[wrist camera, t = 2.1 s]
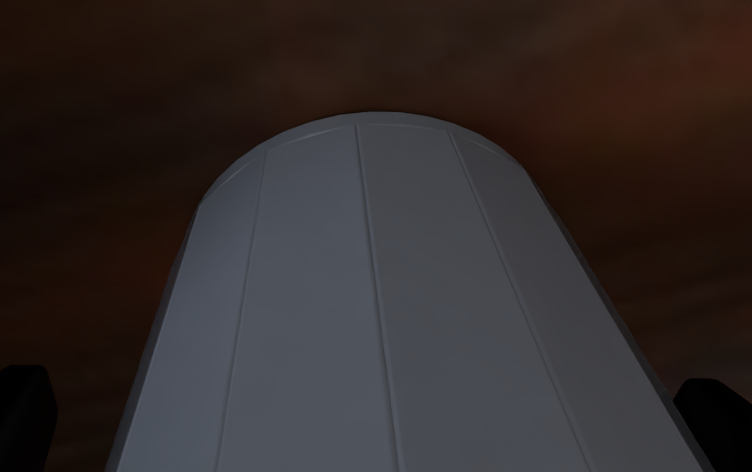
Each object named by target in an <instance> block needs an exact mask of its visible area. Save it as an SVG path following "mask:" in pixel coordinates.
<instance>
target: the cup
mask: <svg viewBox="0 0 752 472" xmlns="http://www.w3.org/2000/svg"><path fill="white" fill-rule="evenodd" d="M104 472H716V471H715V470H714V468H713V467H712V465H711V463H710V462H709V460H708V458H707V457H706V455H705V453H704V452H703V450H702V449H701V447H700V445H699V444H698V442H697V440H696V439H695V437H694V435H693V434H692V432H691V431H690V429H689V427H688V426H687V424H686V422H685V421H684V419H683V417H682V416H681V414H680V413H679V411H678V409H677V408H676V406H675V404H674V403H673V401H672V399H671V398H670V396H669V395H668V393H667V391H666V390H665V388H664V386H663V385H662V383H661V381H660V380H659V378H658V377H657V375H656V373H655V372H654V370H653V368H652V367H651V365H650V363H649V362H648V360H647V359H646V357H645V355H644V354H643V352H642V350H641V349H640V347H639V345H638V344H637V342H636V341H635V339H634V337H633V336H632V334H631V332H630V331H629V329H628V327H627V326H626V324H625V323H624V321H623V319H622V318H621V316H620V314H619V313H618V311H617V309H616V308H615V306H614V305H613V303H612V301H611V300H610V298H609V296H608V295H607V293H606V291H605V290H604V288H603V287H602V285H601V283H600V282H599V280H598V278H597V277H596V275H595V273H594V272H593V270H592V268H591V267H590V265H589V264H588V262H587V260H586V259H585V257H584V255H583V254H582V252H581V250H580V249H579V247H578V246H577V244H576V242H575V241H574V239H573V237H572V236H571V234H570V232H569V231H568V229H567V228H566V226H565V224H564V223H563V221H562V220H561V218H560V217H559V216H558V214H557V213H556V212H555V210H554V209H553V208H552V206H551V205H550V203H549V202H548V201H547V199H546V198H545V196H544V195H543V193H542V191H541V190H540V188H539V187H538V185H537V183H536V182H535V180H534V179H533V178H532V177H531V176H530V174H529V173H528V172H527V171H526V170H525V169H524V167H523V166H522V165H521V164H520V163H519V162H518V161H517V160H515V159H514V158H513V157H512V156H511V155H509V154H508V153H507V152H506V151H505V150H503V149H502V148H501V147H499V146H498V145H496V144H494V143H493V142H491V141H490V140H488V139H486V138H485V137H483V136H481V135H480V134H477V133H475V132H473V131H470V130H468V129H466V128H463V127H461V126H459V125H456V124H454V123H450V122H447V121H443V120H439V119H436V118H432V117H428V116H422V115H415V114H408V113H401V112H362V113H352V114H343V115H337V116H333V117H328V118H324V119H320V120H316V121H311V122H309V123H306V124H303V125H300V126H298V127H295V128H292V129H290V130H287V131H284V132H282V133H280V134H278V135H276V136H274V137H273V138H271V139H269V140H267V141H265V142H263V143H261V144H259V145H258V146H256V147H255V148H253V149H252V150H250V151H249V152H248V153H246V154H245V155H243V156H242V157H241V158H239V159H238V160H236V161H235V162H234V163H233V164H232V165H231V166H230V167H229V168H228V169H227V170H226V171H225V172H224V173H223V174H222V175H220V176H219V177H218V178H217V180H216V181H215V182H214V183H213V185H212V186H211V187H210V188H209V190H208V191H207V192H206V194H205V195H204V196H203V197H202V199H201V201H200V203H199V205H198V206H197V208H196V210H195V212H194V214H193V215H192V217H191V220H190V222H189V225H188V228H187V231H186V234H185V236H184V239H183V242H182V244H181V247H180V249H179V251H178V253H177V255H176V258H175V260H174V262H173V264H172V267H171V270H170V273H169V276H168V279H167V282H166V285H165V288H164V291H163V294H162V297H161V300H160V303H159V306H158V309H157V312H156V315H155V318H154V321H153V325H152V328H151V331H150V334H149V337H148V340H147V343H146V346H145V349H144V352H143V355H142V358H141V361H140V364H139V367H138V370H137V373H136V376H135V379H134V382H133V385H132V388H131V391H130V394H129V397H128V400H127V403H126V406H125V409H124V412H123V415H122V418H121V421H120V424H119V428H118V431H117V434H116V437H115V440H114V443H113V446H112V449H111V452H110V455H109V458H108V461H107V464H106V467H105V470H104Z"/></svg>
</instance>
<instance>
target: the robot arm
mask: <svg viewBox="0 0 752 472" xmlns="http://www.w3.org/2000/svg"><path fill="white" fill-rule="evenodd" d="M673 403H674V404H675V406H676V408H677V409H678V411H679V413H680V414H681V416H682V417H683V419H684V421H685V422H686V424H687V426H688V427H689V429H690V431H691V432H692V434H693V435H694V437H695V439H696V440H697V442H698V444H699V445H700V447H701V449H702V450H703V452H704V453H705V455H706V457H707V458H708V460H709V462H710V463H711V465H712V467H713V468H714V470H715V471H716V472H752V404H751V403H750V402H748V401H747V400H745V399H744V398H743V397H741V396H740V395H738V394H737V393H736V392H734V391H733V390H731V389H730V388H729V387H727V386H726V385H725V384H723V383H722V382H720V381H718V380H715V379H710V378H691V379H688V380H686V381H685V382H684V383H683V384H682V386H681V387H680V389H679V391H678V392H677V394H676V396H675V397H674V399H673ZM57 416H58V408H57V403H56V399H55V396H54V392H53V389H52V385H51V382H50V378H49V375H48V372H47V370H46V369H45V368H44V367H43V366H41V365H20V364H15V365H10V366H7V367H5V368H4V369H2V370H1V371H0V472H43V470H44V466H45V463H46V459H47V456H48V452H49V448H50V445H51V441H52V438H53V434H54V430H55V427H56V423H57Z"/></svg>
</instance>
